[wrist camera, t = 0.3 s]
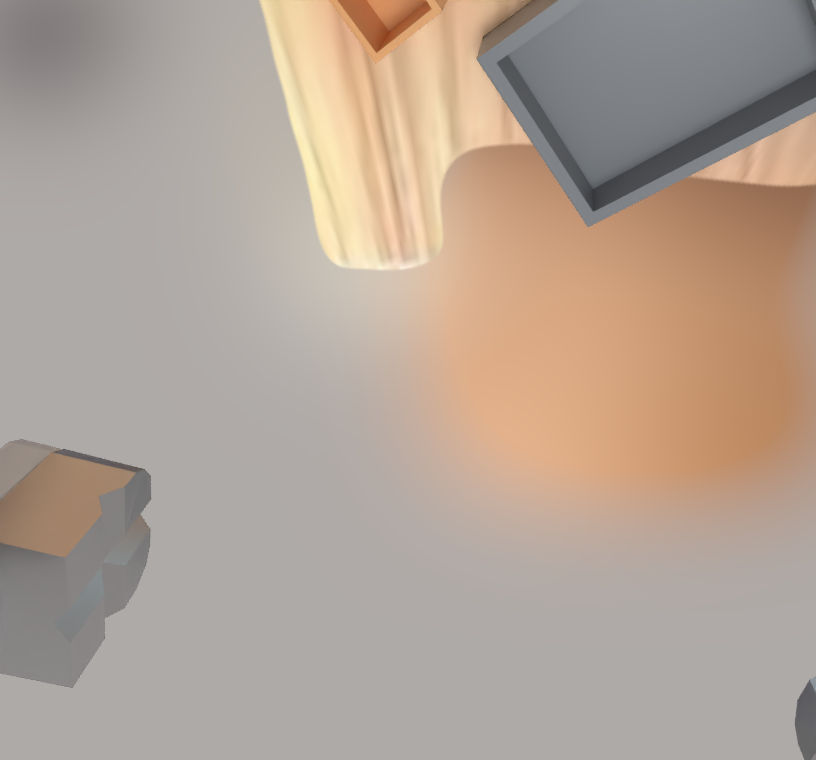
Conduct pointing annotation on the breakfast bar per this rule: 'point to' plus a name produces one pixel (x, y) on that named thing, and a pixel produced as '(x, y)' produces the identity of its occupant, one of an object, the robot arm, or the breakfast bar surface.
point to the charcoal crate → (650, 87)
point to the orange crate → (386, 21)
